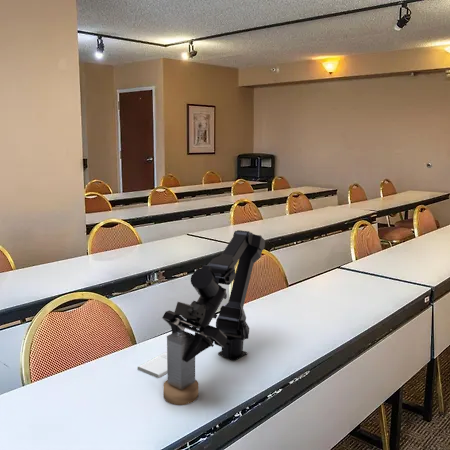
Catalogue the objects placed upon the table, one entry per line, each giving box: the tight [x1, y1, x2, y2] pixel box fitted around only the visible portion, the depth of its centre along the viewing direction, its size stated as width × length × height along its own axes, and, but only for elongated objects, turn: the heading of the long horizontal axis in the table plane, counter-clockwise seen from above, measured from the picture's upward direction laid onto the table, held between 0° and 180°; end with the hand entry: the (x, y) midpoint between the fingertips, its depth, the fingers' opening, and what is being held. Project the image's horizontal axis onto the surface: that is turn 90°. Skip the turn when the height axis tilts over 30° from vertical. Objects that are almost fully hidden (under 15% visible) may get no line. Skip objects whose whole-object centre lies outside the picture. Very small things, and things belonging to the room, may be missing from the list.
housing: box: [166, 330, 196, 390], centre depth 129 cm, size 5×5×13 cm
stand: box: [162, 379, 200, 406], centre depth 131 cm, size 9×9×3 cm
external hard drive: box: [137, 351, 168, 379], centre depth 147 cm, size 2×8×12 cm
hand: (177, 357), depth 128 cm, fingers open, 5 cm apart
